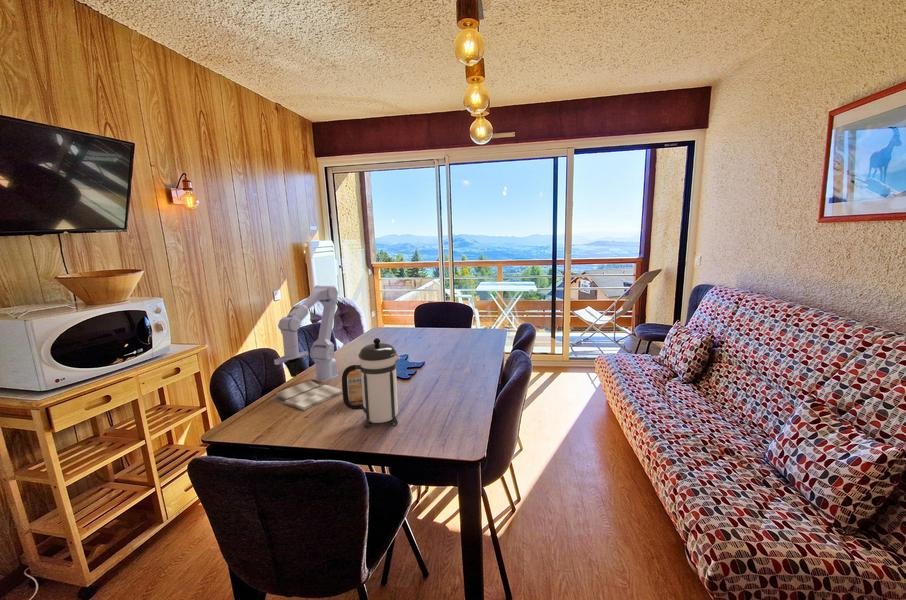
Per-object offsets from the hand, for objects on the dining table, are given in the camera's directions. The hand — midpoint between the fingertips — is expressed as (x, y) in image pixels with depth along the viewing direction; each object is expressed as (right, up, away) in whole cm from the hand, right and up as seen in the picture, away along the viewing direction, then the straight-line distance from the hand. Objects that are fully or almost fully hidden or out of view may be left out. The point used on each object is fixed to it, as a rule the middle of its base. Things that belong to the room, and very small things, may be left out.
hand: (293, 376), depth 154 cm
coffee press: (+41, -11, -25) cm, 49 cm away
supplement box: (+29, -8, -6) cm, 31 cm away
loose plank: (+2, -7, +1) cm, 7 cm away
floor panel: (+8, -8, -3) cm, 11 cm away
